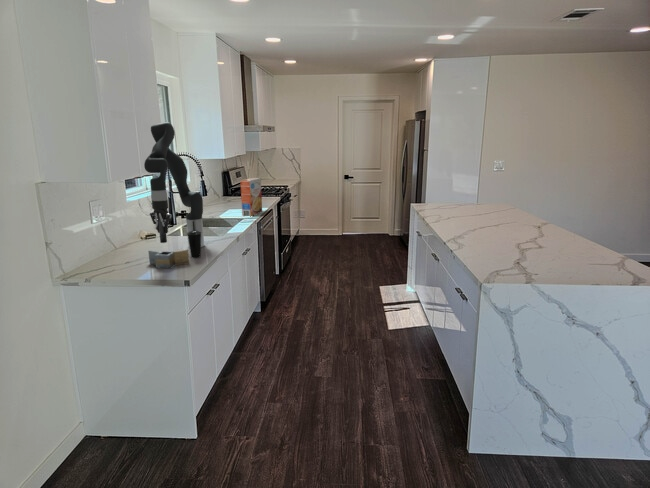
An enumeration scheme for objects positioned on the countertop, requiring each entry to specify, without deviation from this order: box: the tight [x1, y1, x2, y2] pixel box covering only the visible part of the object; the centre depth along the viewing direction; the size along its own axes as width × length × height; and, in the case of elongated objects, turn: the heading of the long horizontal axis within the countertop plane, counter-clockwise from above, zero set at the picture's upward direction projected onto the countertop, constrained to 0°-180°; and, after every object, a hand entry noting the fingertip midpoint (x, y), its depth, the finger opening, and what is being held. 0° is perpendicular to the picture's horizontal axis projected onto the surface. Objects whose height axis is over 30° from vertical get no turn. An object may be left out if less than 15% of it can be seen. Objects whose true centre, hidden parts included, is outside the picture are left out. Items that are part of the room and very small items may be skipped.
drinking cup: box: [186, 221, 202, 259], centre depth 234 cm, size 8×8×20 cm
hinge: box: [147, 249, 190, 270], centre depth 220 cm, size 11×20×7 cm, turn 84°
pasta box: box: [240, 177, 263, 218], centre depth 361 cm, size 23×8×30 cm, turn 165°
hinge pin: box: [158, 215, 168, 244], centre depth 214 cm, size 3×3×14 cm
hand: (162, 232), depth 215 cm, fingers closed on hinge pin, 3 cm apart
